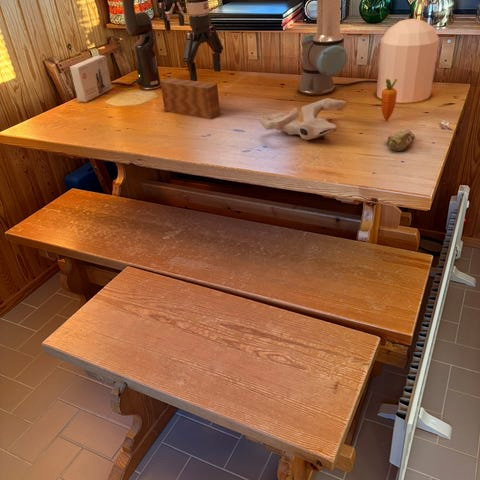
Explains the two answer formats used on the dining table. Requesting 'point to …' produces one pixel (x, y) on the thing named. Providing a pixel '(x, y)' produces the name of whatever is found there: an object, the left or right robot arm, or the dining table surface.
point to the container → (408, 60)
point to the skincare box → (91, 78)
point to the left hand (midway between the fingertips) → (175, 28)
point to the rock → (400, 140)
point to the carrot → (388, 99)
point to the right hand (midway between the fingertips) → (206, 75)
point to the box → (190, 97)
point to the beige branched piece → (305, 120)
